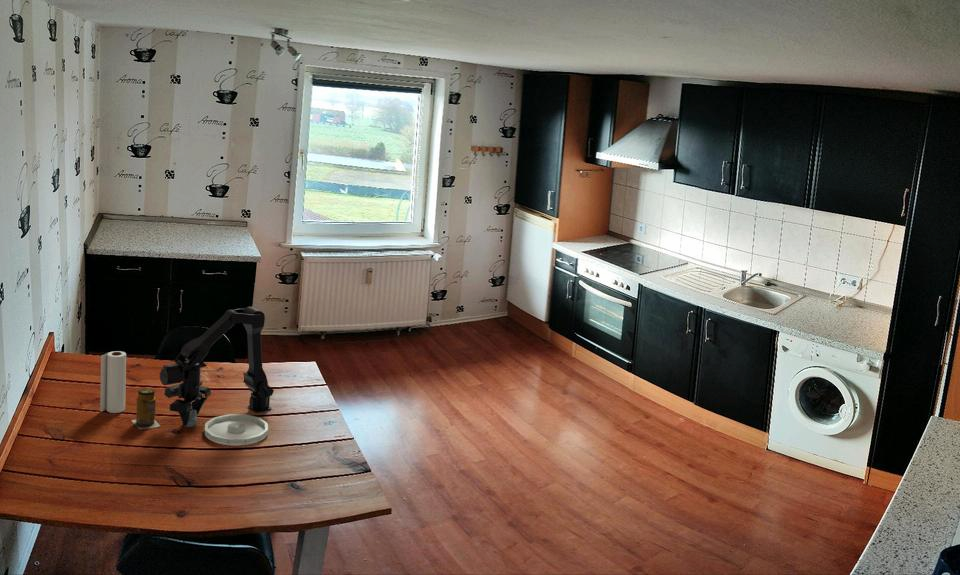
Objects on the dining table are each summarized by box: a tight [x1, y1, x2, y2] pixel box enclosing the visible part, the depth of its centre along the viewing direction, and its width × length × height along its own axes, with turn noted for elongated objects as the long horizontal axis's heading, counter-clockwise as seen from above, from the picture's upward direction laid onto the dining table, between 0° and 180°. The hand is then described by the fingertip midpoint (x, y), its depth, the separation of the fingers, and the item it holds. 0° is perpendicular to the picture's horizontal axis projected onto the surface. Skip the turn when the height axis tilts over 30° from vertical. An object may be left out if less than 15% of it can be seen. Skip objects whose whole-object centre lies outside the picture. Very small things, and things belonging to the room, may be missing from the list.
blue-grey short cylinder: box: [182, 409, 198, 428], centre depth 291 cm, size 4×4×5 cm
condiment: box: [131, 387, 161, 430], centre depth 287 cm, size 7×8×12 cm
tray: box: [204, 413, 269, 447], centre depth 290 cm, size 21×21×2 cm
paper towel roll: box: [99, 350, 127, 414], centre depth 293 cm, size 7×6×21 cm
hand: (189, 421), depth 291 cm, fingers open, 7 cm apart
